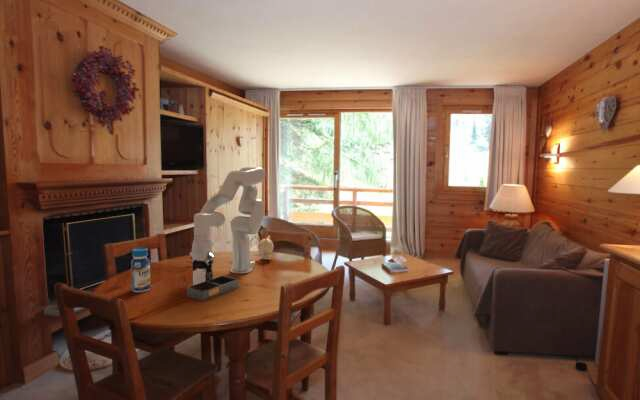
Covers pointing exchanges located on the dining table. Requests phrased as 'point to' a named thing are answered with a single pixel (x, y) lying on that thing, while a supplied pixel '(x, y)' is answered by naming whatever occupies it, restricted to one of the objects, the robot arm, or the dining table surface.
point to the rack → (212, 288)
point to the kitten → (265, 248)
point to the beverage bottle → (140, 270)
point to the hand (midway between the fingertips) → (202, 271)
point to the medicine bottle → (201, 273)
